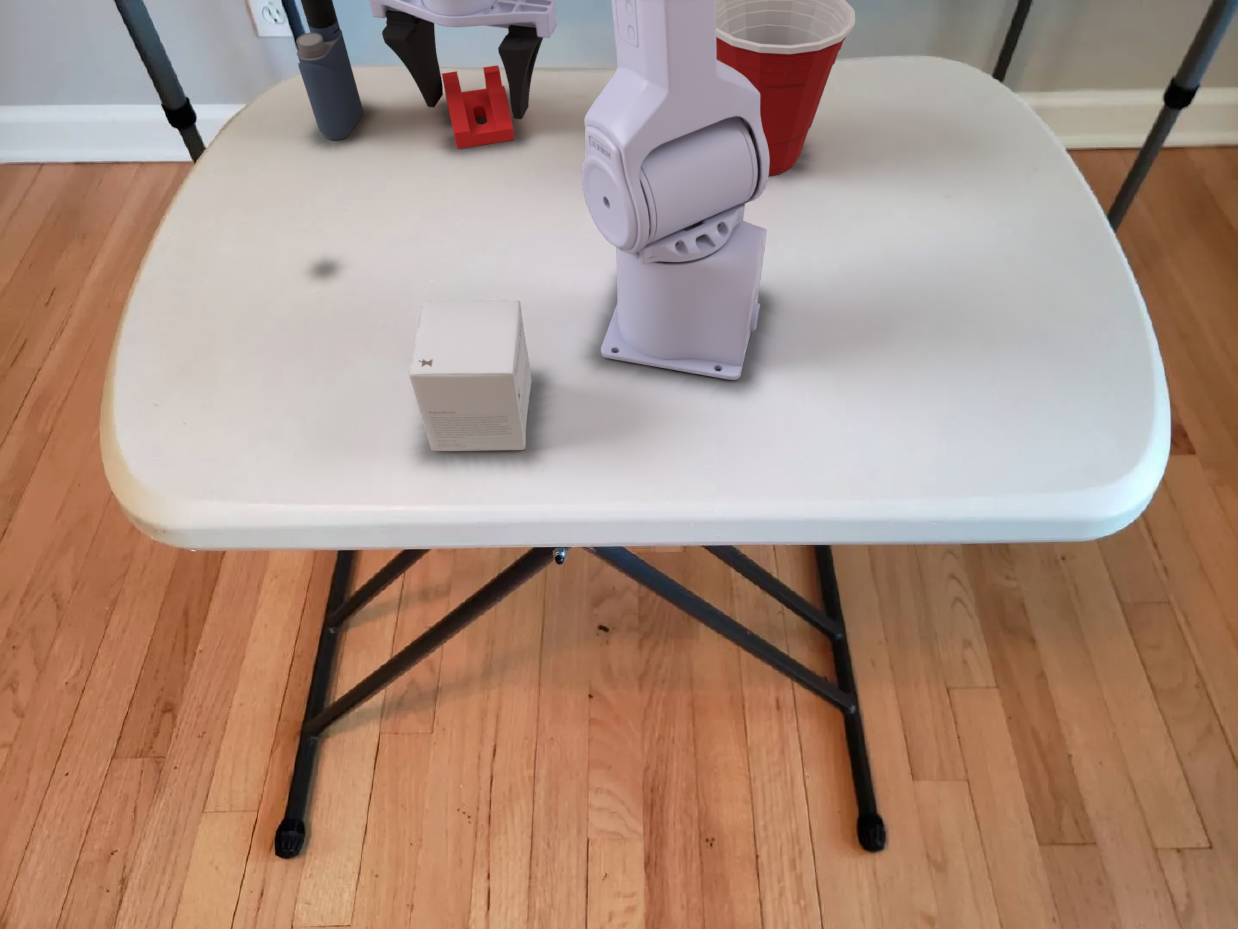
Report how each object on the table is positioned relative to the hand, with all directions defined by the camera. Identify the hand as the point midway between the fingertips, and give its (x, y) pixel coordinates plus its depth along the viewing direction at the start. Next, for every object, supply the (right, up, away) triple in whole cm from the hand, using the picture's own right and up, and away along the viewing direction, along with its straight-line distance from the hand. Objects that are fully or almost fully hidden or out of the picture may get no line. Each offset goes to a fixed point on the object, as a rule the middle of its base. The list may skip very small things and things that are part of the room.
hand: (477, 106), depth 77 cm
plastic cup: (+24, -5, -2) cm, 24 cm away
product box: (+3, -27, -18) cm, 32 cm away
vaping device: (-12, -1, +2) cm, 12 cm away
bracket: (0, -1, +1) cm, 2 cm away
